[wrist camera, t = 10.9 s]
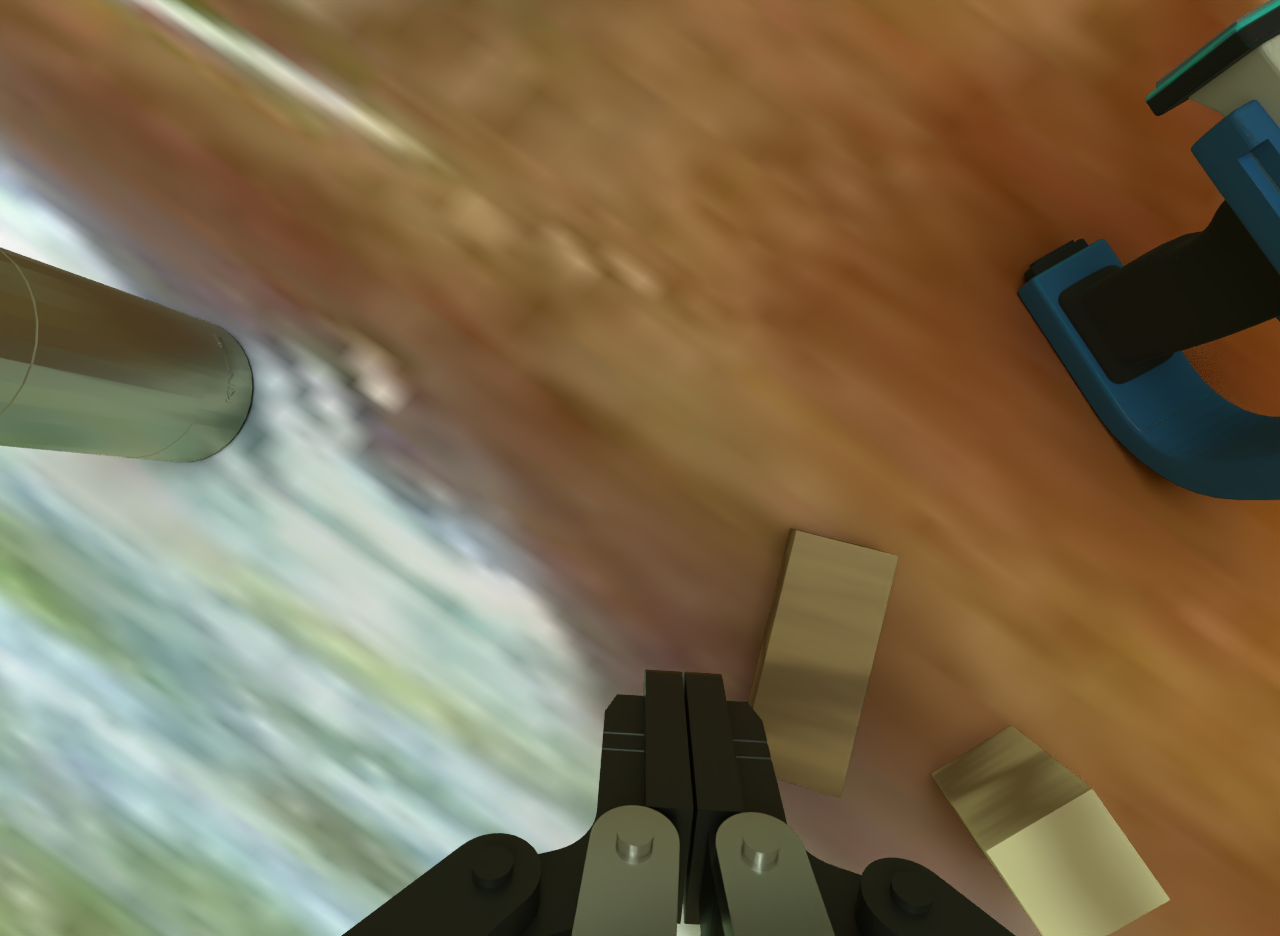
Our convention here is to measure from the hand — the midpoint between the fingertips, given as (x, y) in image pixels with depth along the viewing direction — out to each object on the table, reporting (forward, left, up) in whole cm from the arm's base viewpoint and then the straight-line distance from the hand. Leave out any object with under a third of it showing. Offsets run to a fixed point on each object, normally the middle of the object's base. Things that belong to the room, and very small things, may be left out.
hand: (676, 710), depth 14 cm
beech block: (+12, -14, -27) cm, 33 cm away
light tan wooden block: (+1, -10, -25) cm, 27 cm away
